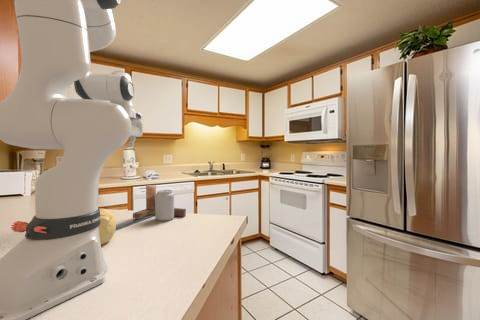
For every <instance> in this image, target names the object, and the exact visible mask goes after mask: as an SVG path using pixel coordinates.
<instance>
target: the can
mask: <svg viewBox="0 0 480 320" xmlns="http://www.w3.org/2000/svg"><path fill="white" fill-rule="evenodd" d="M174 208H175V193H173V190H172V189H160V190H156V195H155V216H154V218H155V219H156V220H157V221H159V222H167V221H172V219H173V218H174V217H175V216H174Z"/></svg>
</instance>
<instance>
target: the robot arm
mask: <svg viewBox="0 0 480 320" xmlns="http://www.w3.org/2000/svg"><path fill="white" fill-rule="evenodd" d="M119 4H121V0H14V10H15V17H16V23H17V31H18V38H19V47H20V57H21V65H20V72H19V76H18V78H17V81H16V83H15V85H14V87H13V89H12V90H11V92H9V94H8V95H7V96H6V97H4V98H3V99H2V100H1V101H0V141H2V142H3V143H4V144H7V145H11V146H16V147H20V148H26V149H31V150H63V155H62V158H61V160H60V161H59V162H58V164H57V165H55V166H53V167H51V168H49V169H47V170H45V171H43V172H41V174H40V175H39V176H37V178H36V181H35V183H34V206H35V207H34V209H35V210H34V212H35V213H34V214H35V215H34V216H32V219H31V220H30V221H29V222H27V221H20V220H18V221H15V222H13V223H12V224H11V227H10V229H11V231H13V232H15V233H16V232H17V233H25V234H24V238H22V239H21V241H20V242H18V243H17V244H16V245H15V246H13V247H12V248H11V249H10V250H9V251H8V252H6V253H5V254H3V256H2V257H0V320H27V319H30V318H32V317H34V316H36V315H37V314H38V315H39V314H40V313H42V312H44V311H46V310H48V309H51V308H53V307H55V306H57V305H59V304H61V303H63V302H65V301H67V300H70V299H72V298H73V297H76V296H77V295H80V294H82V293H84V292H86V291H89V290H90V289H92V288H94V287H97V286H99V285H100V284H103V283H104V282H105V280H106V279H105V273H106V271H107V268H108V266H107V263H106V261H105V257H104V255H103V250H102V245H101V244H100V236H99V225H100V219H101V218H100V209H101V208H99V187H100V176H101V175H102V174H101V173H102V170H103V168H104V165H105V164H106V162H107V160H108V159H109V158H110V157H111V155H113V154H114V153H115V152H116V151H117V150H118V149H120V148H121V147H123V146H124V145H125V144H126V143H127V147H128V148H133V147H134V146H135V142H136V138H141V137H142V136H143V134H144V132H143V131H144V129H143V128H144V127H143V125H144V124H143V122H142V120H143V114H141V113H139V112H137V111H136V110H135V109H134V104H133V99H134V95H135V94H134V93H135V92H134V84H133V81H132V76H131V75H130V74H129V73H127V72H124V71H120V70H115V71H112V72H111V73H97V72H92V71H90V69H91V68H92V67H91V66H92V63H91V53H92V52H96V51H100V50H103V49H106V48H107V47H109V46H110V45H111V44H112V43H113V42H114V41H115V38H116V35H117V29H116V28H117V27H116V23H115V18H114V14H113V10H114V9H116V8H117V7H118V6H119ZM112 9H113V10H112ZM72 84H74V85H73V86H74V91H75V93H76V94H77V95H78V96H79V98H68V93H69V92H68V91H69V88H70V87H71V85H72ZM128 140H129V142H128Z"/></svg>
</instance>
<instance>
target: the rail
mask: <svg viewBox="0 0 480 320" xmlns="http://www.w3.org/2000/svg"><path fill="white" fill-rule="evenodd" d="M153 217H155V213H154V214H151V215H148V216H146V217H143V218H140V219H136V218H133V219H130V220H127V221H123V222H121V223H118V224H116V229H115V232H116V231H118V230H121V229H124V228H127V227H129V226H132V225H134V224H137V223H140V222H143V221H145V220H148V219H150V218H153Z"/></svg>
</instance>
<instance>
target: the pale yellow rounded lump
mask: <svg viewBox="0 0 480 320" xmlns="http://www.w3.org/2000/svg"><path fill="white" fill-rule="evenodd" d="M99 209H100V218H101V219H100V225H99V236H100V244H101V246H102V245H105V244H106V243H108V242H109V241H110V240H112V238H113V237H114V235H115V233H116V231H115V229H116V225H117V221H116V219H115V216H114V214H113V212H110V211H108V210H107V209H106V208H99Z"/></svg>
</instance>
